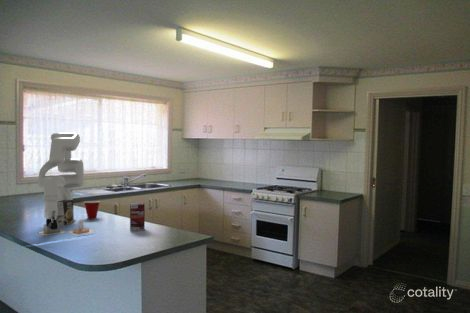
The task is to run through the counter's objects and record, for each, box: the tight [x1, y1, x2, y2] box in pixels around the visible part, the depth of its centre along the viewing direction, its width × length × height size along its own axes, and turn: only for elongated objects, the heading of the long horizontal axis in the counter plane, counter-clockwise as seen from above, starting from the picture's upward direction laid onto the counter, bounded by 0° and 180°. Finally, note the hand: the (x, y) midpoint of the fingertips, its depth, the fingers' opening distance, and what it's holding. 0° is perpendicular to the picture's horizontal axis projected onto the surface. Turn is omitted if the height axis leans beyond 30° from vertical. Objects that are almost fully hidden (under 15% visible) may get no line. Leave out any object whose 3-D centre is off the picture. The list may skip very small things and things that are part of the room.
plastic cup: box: [83, 200, 101, 220], centre depth 261 cm, size 11×11×12 cm
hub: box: [66, 219, 96, 238], centre depth 215 cm, size 12×12×8 cm
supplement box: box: [129, 202, 146, 232], centre depth 224 cm, size 9×5×16 cm, turn 105°
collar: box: [43, 223, 61, 235], centre depth 214 cm, size 7×7×4 cm
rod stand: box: [38, 222, 67, 237], centre depth 214 cm, size 12×12×7 cm
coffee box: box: [57, 199, 75, 226], centre depth 237 cm, size 9×6×16 cm
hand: (51, 227), depth 213 cm, fingers open, 9 cm apart
